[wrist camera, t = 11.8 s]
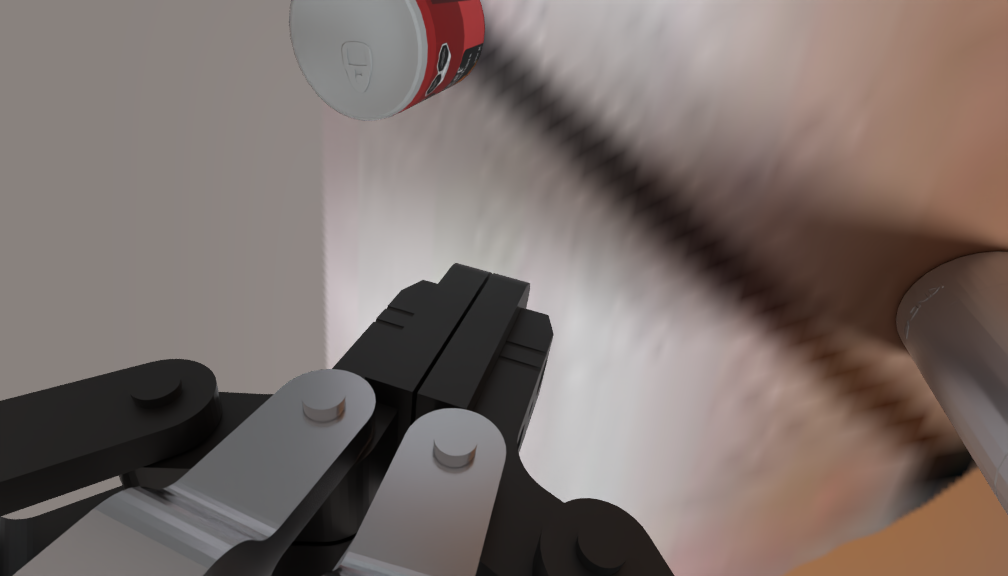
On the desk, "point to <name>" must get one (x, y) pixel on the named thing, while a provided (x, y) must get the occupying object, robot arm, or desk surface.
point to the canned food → (384, 50)
